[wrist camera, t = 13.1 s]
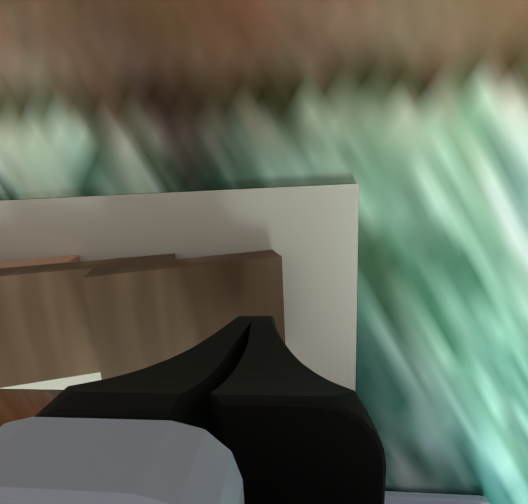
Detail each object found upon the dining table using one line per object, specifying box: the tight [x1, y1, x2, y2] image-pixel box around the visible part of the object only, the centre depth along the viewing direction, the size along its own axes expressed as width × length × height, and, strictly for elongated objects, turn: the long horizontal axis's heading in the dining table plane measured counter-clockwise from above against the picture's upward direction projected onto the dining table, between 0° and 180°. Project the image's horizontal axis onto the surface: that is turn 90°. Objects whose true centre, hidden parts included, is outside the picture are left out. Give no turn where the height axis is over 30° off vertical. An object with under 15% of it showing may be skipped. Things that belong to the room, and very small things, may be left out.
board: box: [0, 184, 359, 391], centre depth 17 cm, size 25×11×1 cm, turn 93°
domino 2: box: [83, 250, 285, 380], centre depth 14 cm, size 2×5×8 cm
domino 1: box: [0, 253, 175, 388], centre depth 15 cm, size 2×5×8 cm
